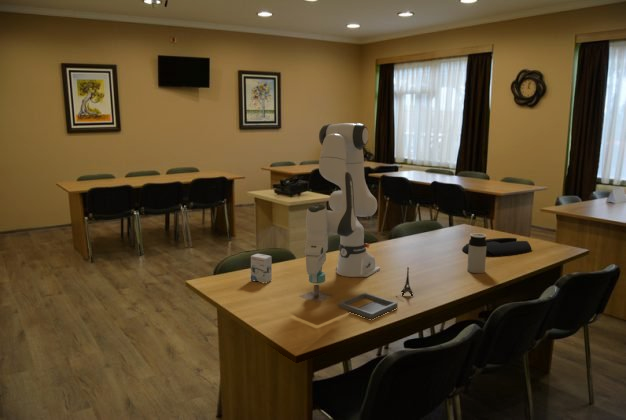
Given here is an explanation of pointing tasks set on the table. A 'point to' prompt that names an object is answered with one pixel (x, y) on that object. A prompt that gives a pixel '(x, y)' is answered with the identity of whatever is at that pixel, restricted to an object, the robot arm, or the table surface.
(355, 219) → the robot arm
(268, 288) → the table surface
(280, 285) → the table surface
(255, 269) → the ink box
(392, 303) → the tray
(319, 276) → the ring
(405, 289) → the eiffel tower figurine
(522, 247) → the black folded towel
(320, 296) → the post stand
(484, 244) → the travel mug
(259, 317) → the table surface
